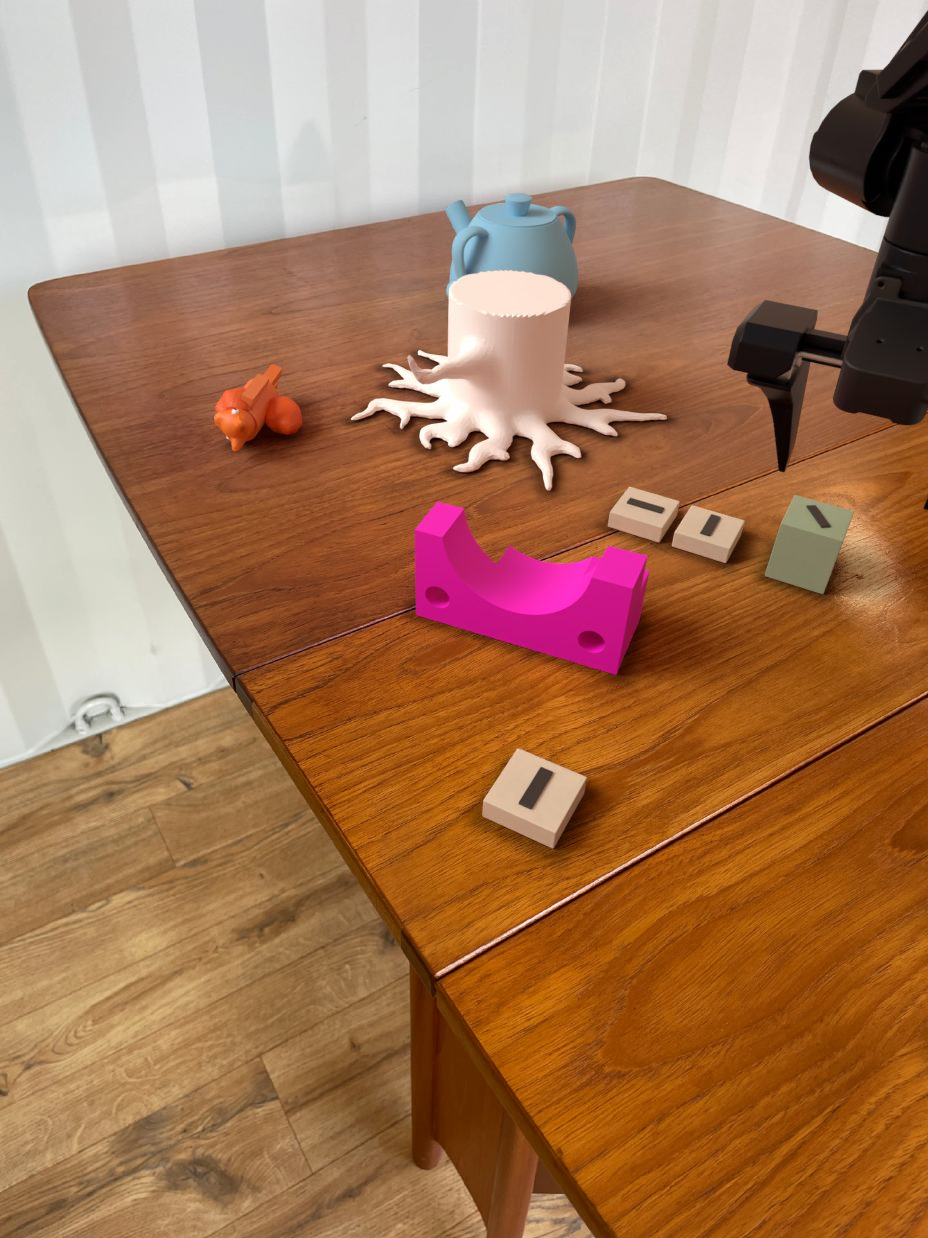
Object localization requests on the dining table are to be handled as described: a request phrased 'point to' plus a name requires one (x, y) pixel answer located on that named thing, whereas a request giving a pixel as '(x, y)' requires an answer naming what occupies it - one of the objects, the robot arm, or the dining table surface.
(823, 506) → the green letter i block
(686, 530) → the beige letter tiles
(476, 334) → the tree stump
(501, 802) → the beige minus sign block
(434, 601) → the magenta cradle bracket
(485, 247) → the teapot
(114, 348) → the dining table surface
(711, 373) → the dining table surface
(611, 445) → the dining table surface
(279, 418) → the orange toy bird
